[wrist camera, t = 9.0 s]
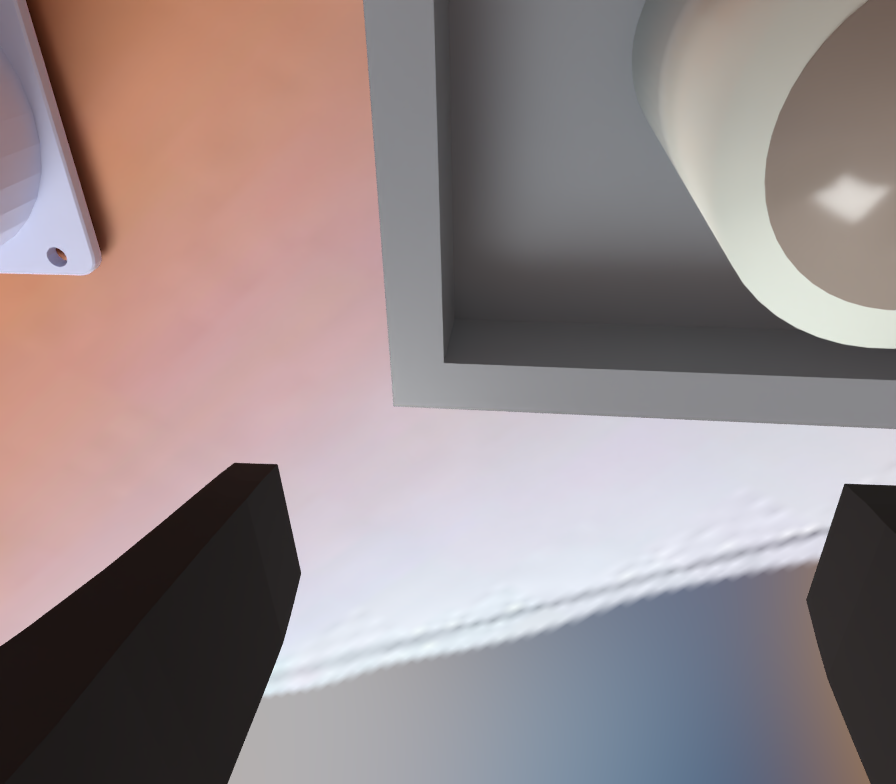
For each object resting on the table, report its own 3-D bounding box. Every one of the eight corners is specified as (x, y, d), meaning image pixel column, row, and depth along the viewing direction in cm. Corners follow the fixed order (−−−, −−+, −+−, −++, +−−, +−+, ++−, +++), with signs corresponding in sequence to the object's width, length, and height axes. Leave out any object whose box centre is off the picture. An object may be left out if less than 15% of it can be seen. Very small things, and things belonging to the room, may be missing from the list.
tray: (413, 344, 19) (393, 406, 16) (373, -421, 11) (323, -529, 9) (976, 365, 17) (1051, 436, 15) (1356, -505, 10) (1637, -663, 7)
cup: (626, 169, 15) (693, 354, 8) (638, -78, 13) (745, -104, 6) (847, 157, 14) (1116, 346, 8) (903, -105, 12) (1361, -170, 5)
